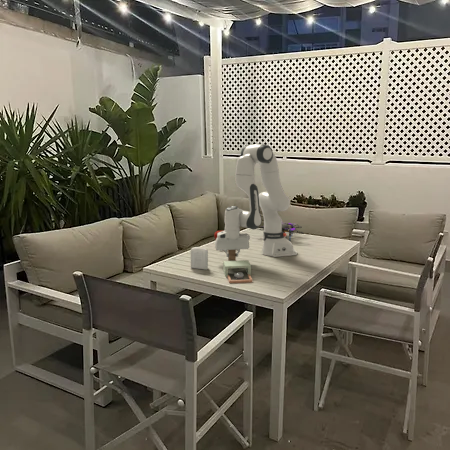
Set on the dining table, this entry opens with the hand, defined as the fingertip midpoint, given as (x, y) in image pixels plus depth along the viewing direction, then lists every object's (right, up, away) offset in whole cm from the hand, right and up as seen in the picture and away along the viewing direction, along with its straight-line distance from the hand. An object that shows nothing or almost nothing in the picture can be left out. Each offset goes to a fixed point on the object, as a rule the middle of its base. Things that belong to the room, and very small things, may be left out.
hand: (232, 256), depth 269 cm
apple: (-6, +4, +37) cm, 37 cm away
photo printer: (-19, -6, -10) cm, 22 cm away
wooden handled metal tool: (+1, -4, -4) cm, 6 cm away
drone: (+38, +9, +62) cm, 74 cm away
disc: (+3, -10, -27) cm, 29 cm away
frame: (+3, -10, -30) cm, 32 cm away
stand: (+2, -8, -20) cm, 21 cm away
